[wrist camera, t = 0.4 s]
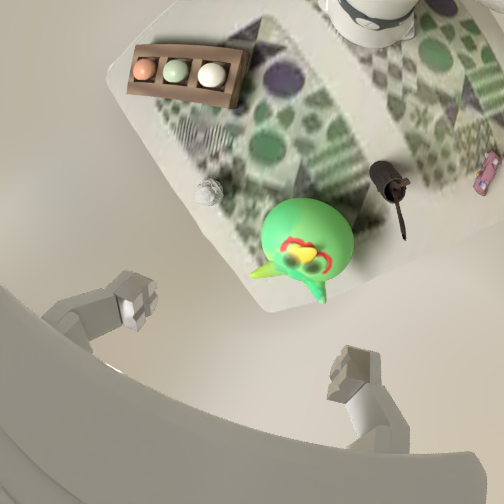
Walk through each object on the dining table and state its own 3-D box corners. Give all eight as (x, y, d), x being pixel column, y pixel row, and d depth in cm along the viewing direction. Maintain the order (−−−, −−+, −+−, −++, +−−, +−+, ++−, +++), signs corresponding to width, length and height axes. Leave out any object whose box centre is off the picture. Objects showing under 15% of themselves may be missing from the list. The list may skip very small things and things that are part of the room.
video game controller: (485, 148, 37) (490, 145, 32) (501, 160, 36) (507, 159, 31) (468, 185, 43) (470, 186, 38) (483, 198, 41) (487, 200, 36)
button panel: (147, 46, 45) (135, 44, 41) (250, 54, 42) (242, 50, 39) (138, 93, 52) (126, 94, 48) (236, 108, 49) (228, 108, 45)
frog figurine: (236, 190, 58) (224, 201, 52) (213, 205, 62) (199, 217, 56) (220, 167, 56) (207, 175, 51) (198, 184, 60) (183, 193, 54)
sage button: (172, 60, 43) (165, 59, 41) (192, 61, 43) (186, 60, 41) (167, 81, 46) (161, 81, 44) (187, 83, 45) (181, 83, 43)
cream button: (206, 63, 42) (200, 61, 40) (229, 66, 42) (224, 64, 40) (201, 85, 45) (195, 85, 43) (223, 89, 44) (218, 88, 42)
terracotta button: (142, 59, 44) (135, 58, 42) (159, 59, 43) (152, 58, 41) (138, 79, 47) (131, 79, 45) (155, 80, 46) (148, 80, 44)
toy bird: (364, 212, 52) (372, 246, 40) (330, 273, 62) (326, 316, 50) (284, 176, 54) (268, 199, 42) (259, 242, 63) (239, 279, 51)
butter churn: (395, 138, 43) (454, 171, 20) (413, 182, 46) (470, 251, 23) (354, 155, 47) (375, 203, 24) (374, 198, 50) (401, 279, 27)
